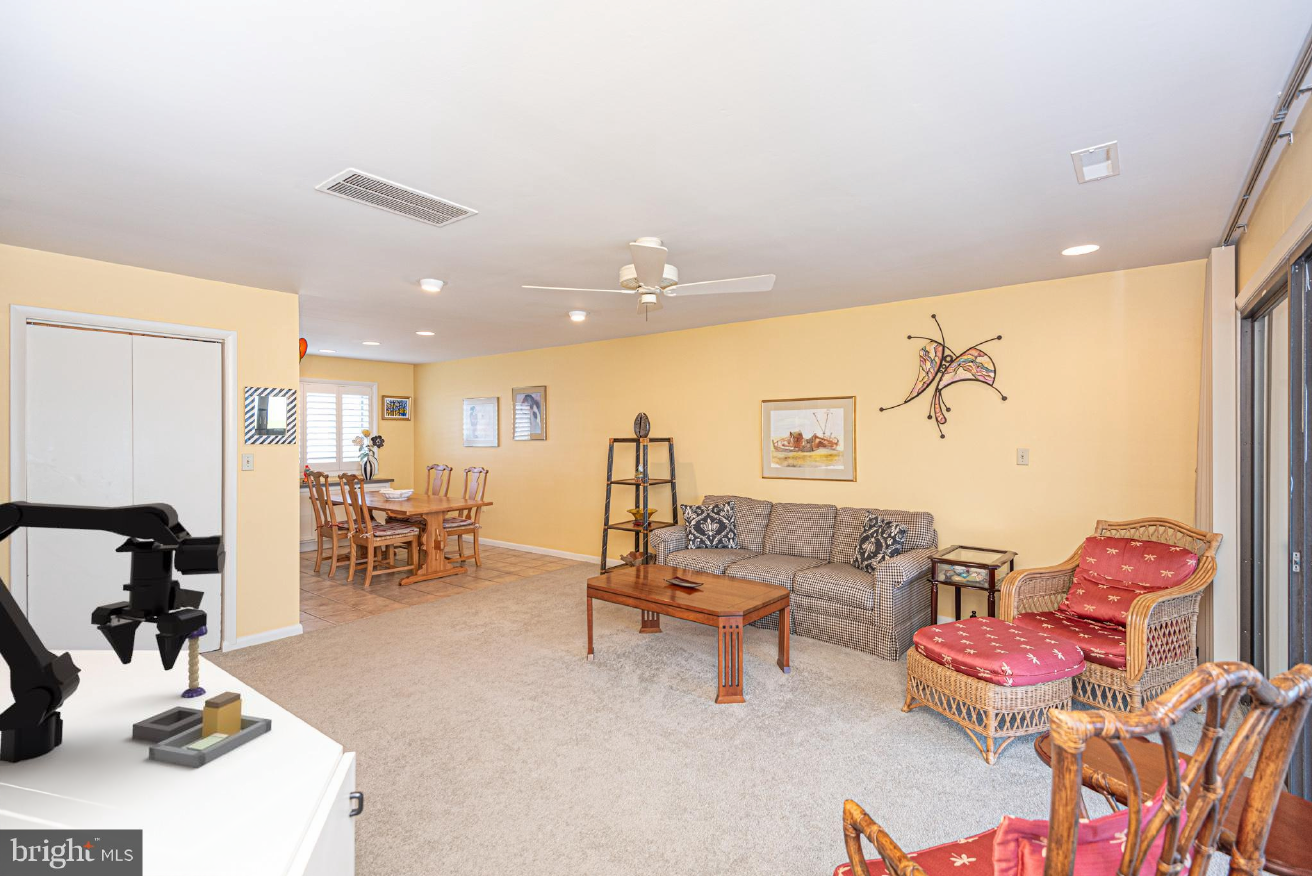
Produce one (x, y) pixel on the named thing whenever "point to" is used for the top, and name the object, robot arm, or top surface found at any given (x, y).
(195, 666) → the toy lamp
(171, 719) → the fuse holder
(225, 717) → the block
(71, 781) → the top surface
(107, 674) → the top surface
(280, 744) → the top surface
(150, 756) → the parts tray
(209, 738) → the block
